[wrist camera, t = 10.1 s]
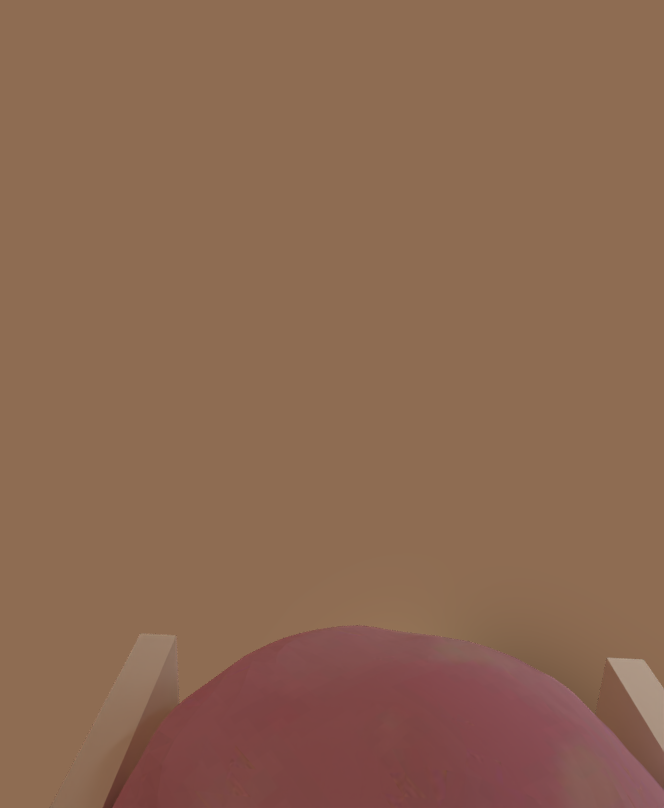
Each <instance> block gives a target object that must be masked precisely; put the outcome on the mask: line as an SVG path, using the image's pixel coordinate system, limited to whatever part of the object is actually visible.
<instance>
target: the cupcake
mask: <svg viewBox="0 0 664 808" xmlns="http://www.w3.org/2000/svg"><path fill="white" fill-rule="evenodd" d="M112 808H664V789H663V788H662V787H661V786H660V785H659V784H658V782H657V781H656V780H655V779H654V778H653V777H652V776H651V774H650V773H649V772H648V771H647V770H646V769H645V768H644V766H643V765H642V764H641V763H640V762H639V761H638V760H637V759H636V758H635V757H634V756H633V755H632V754H631V753H630V752H629V751H628V749H627V748H626V747H625V746H624V745H623V743H622V742H621V741H620V740H619V739H618V738H617V736H616V735H615V734H614V733H613V732H612V731H611V730H610V729H609V728H608V727H607V726H606V725H605V724H604V723H603V722H602V721H601V720H600V719H599V718H598V717H597V716H596V715H595V714H593V712H592V711H591V710H590V709H589V708H588V707H587V706H586V705H585V704H584V703H583V702H582V701H581V700H580V699H579V698H578V697H577V696H576V695H575V694H574V693H573V692H572V691H571V690H569V689H568V688H567V687H565V686H564V685H563V684H561V683H560V682H559V681H557V680H556V679H554V678H553V677H551V676H549V675H547V674H545V673H542V672H540V671H538V670H537V669H535V668H533V667H531V666H529V665H528V664H526V663H524V662H522V661H521V660H519V659H517V658H515V657H513V656H510V655H507V654H505V653H502V652H499V651H497V650H494V649H491V648H489V647H486V646H482V645H479V644H476V643H472V642H469V641H464V640H458V639H452V638H445V637H440V636H434V635H425V634H417V633H407V632H400V631H393V630H388V629H382V628H377V627H368V626H358V625H356V626H338V627H331V628H324V629H318V630H312V631H309V632H304V633H299V634H296V635H293V636H289V637H286V638H283V639H280V640H278V641H275V642H273V643H271V644H268V645H266V646H264V647H262V648H260V649H258V650H256V651H254V652H252V653H250V654H248V655H246V656H244V657H243V658H241V659H240V660H238V661H237V662H236V663H234V664H233V665H232V666H230V667H229V668H227V669H226V670H225V671H223V672H222V673H221V674H219V675H218V676H216V677H215V678H214V679H212V680H211V681H209V682H208V683H207V684H205V685H204V686H202V687H201V688H200V689H198V690H197V691H195V692H194V693H193V694H191V695H190V696H188V697H187V698H186V699H185V700H183V701H182V702H181V703H180V704H178V705H177V706H176V707H175V708H174V709H173V710H172V711H171V712H170V713H169V715H168V716H167V717H166V718H165V719H164V720H163V721H162V723H161V724H160V725H159V727H158V728H157V730H156V732H155V733H154V735H153V736H152V738H151V739H150V741H149V743H148V745H147V747H146V749H145V750H144V752H143V754H142V756H141V758H140V760H139V762H138V763H137V765H136V767H135V768H134V770H133V772H132V773H131V775H130V777H129V778H128V780H127V782H126V783H125V785H124V787H123V788H122V790H121V792H120V794H119V796H118V798H117V800H116V802H115V803H114V805H113V807H112Z"/></svg>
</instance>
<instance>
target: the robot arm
mask: <svg viewBox="0 0 664 808" xmlns="http://www.w3.org/2000/svg"><path fill="white" fill-rule="evenodd" d="M178 704H179V686H178V662H177V638H176V635H160V634H140V635H139V637H138V639H137V641H136V643H135V645H134V647H133V649H132V651H131V652H130V654H129V656H128V658H127V660H126V662H125V664H124V666H123V668H122V670H121V672H120V674H119V675H118V677H117V679H116V681H115V683H114V685H113V687H112V689H111V691H110V693H109V695H108V697H107V699H106V700H105V703H104V704H103V706H102V708H101V710H100V712H99V714H98V716H97V718H96V720H95V722H94V723H93V725H92V727H91V729H90V731H89V733H88V735H87V737H86V739H85V741H84V743H83V744H82V747H81V748H80V750H79V752H78V754H77V756H76V758H75V760H74V762H73V764H72V766H71V768H70V770H69V771H68V773H67V775H66V777H65V779H64V781H63V783H62V785H61V787H60V789H59V791H58V793H57V794H56V796H55V798H54V801H53V802H52V804H51V806H50V808H112V807H113V805H114V803H115V802H116V800H117V798H118V796H119V794H120V792H121V790H122V788H123V787H124V785H125V783H126V782H127V780H128V778H129V777H130V775H131V773H132V772H133V770H134V768H135V767H136V765H137V763H138V762H139V760H140V758H141V756H142V754H143V752H144V750H145V749H146V747H147V745H148V743H149V741H150V739H151V738H152V736H153V735H154V733H155V732H156V730H157V728H158V727H159V725H160V724H161V723H162V721H163V720H164V719H165V718H166V717H167V716H168V715H169V713H170V712H171V711H172V710H173V709H174V708H175V707H176V706H177V705H178ZM595 715H596V716H597V717H598V718H599V719H600V720H601V721H602V722H603V723H604V724H605V725H606V726H607V727H608V728H609V729H610V730H611V731H612V732H613V733H614V734H615V735H616V736H617V738H618V739H619V740H620V741H621V742H622V743H623V745H624V746H625V747H626V748H627V749H628V751H629V752H630V753H631V754H632V755H633V756H634V757H635V758H636V759H637V760H638V761H639V762H640V763H641V764H642V765H643V766H644V768H645V769H646V770H647V771H648V772H649V773H650V774H651V776H652V777H653V778H654V779H655V780H656V781H657V782H658V784H659V785H660V786H661V787H662V788H663V789H664V688H663V687H662V685H661V684H660V683H659V681H658V680H657V678H656V677H655V675H654V674H653V672H652V671H651V670H650V668H649V667H648V665H647V664H646V662H645V661H644V660H641V659H622V658H607V659H606V664H605V668H604V673H603V678H602V683H601V688H600V693H599V698H598V703H597V708H596V713H595Z"/></svg>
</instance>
